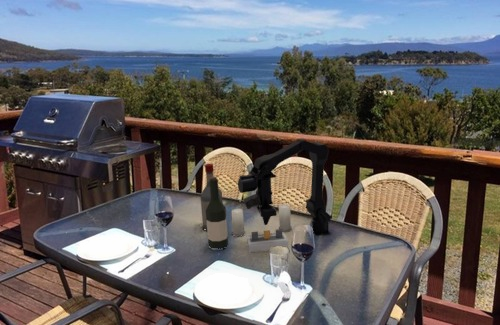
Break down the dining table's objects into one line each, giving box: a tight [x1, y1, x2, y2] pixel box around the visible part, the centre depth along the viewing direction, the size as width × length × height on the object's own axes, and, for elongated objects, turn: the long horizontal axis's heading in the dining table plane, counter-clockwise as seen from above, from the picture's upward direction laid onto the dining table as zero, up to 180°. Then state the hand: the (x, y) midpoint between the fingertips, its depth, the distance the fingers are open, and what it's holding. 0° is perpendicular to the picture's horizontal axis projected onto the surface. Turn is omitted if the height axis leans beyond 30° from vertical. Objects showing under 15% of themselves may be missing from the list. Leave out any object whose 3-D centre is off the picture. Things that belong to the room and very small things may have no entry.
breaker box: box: [246, 232, 290, 253], centre depth 174 cm, size 16×9×3 cm, turn 97°
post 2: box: [278, 203, 293, 233], centre depth 188 cm, size 6×6×11 cm
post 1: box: [231, 208, 246, 237], centre depth 186 cm, size 6×6×11 cm
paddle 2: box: [275, 228, 282, 238], centre depth 174 cm, size 2×1×3 cm, turn 98°
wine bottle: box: [206, 176, 229, 249], centre depth 172 cm, size 8×8×30 cm
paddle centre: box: [263, 229, 271, 239], centre depth 173 cm, size 2×1×3 cm, turn 97°
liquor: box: [200, 163, 224, 231], centre depth 191 cm, size 9×9×30 cm
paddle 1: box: [251, 230, 259, 240], centre depth 173 cm, size 2×1×3 cm, turn 97°
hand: (265, 224), depth 174 cm, fingers closed
